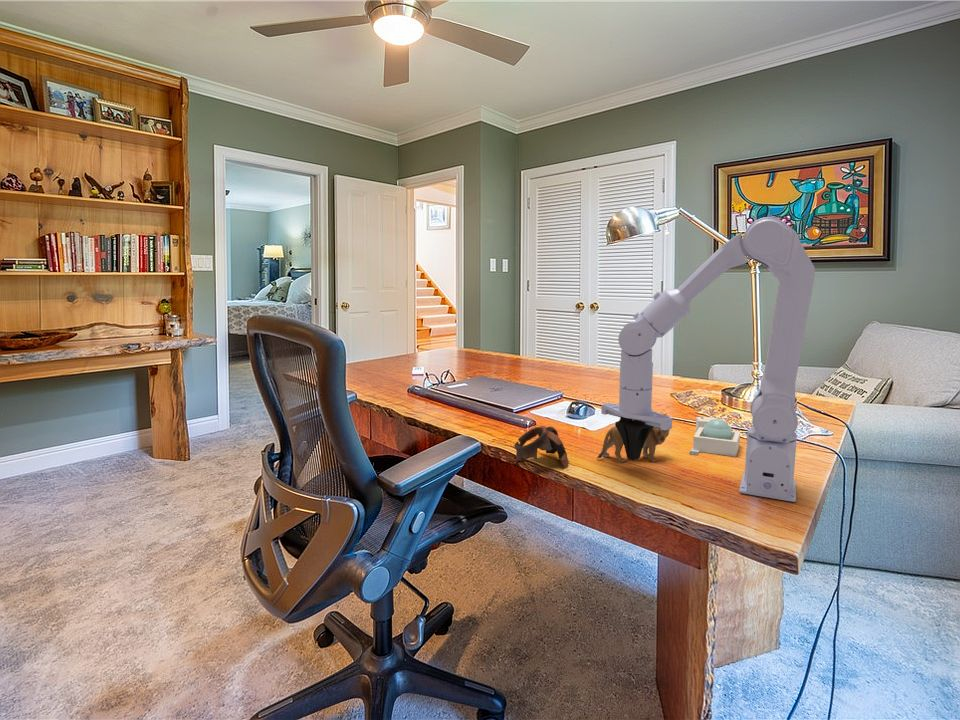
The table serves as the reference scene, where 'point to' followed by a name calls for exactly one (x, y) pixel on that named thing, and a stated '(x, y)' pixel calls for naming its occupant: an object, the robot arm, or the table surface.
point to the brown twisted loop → (541, 444)
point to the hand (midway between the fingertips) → (633, 458)
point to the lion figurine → (652, 440)
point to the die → (702, 421)
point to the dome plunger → (717, 429)
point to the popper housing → (716, 443)
